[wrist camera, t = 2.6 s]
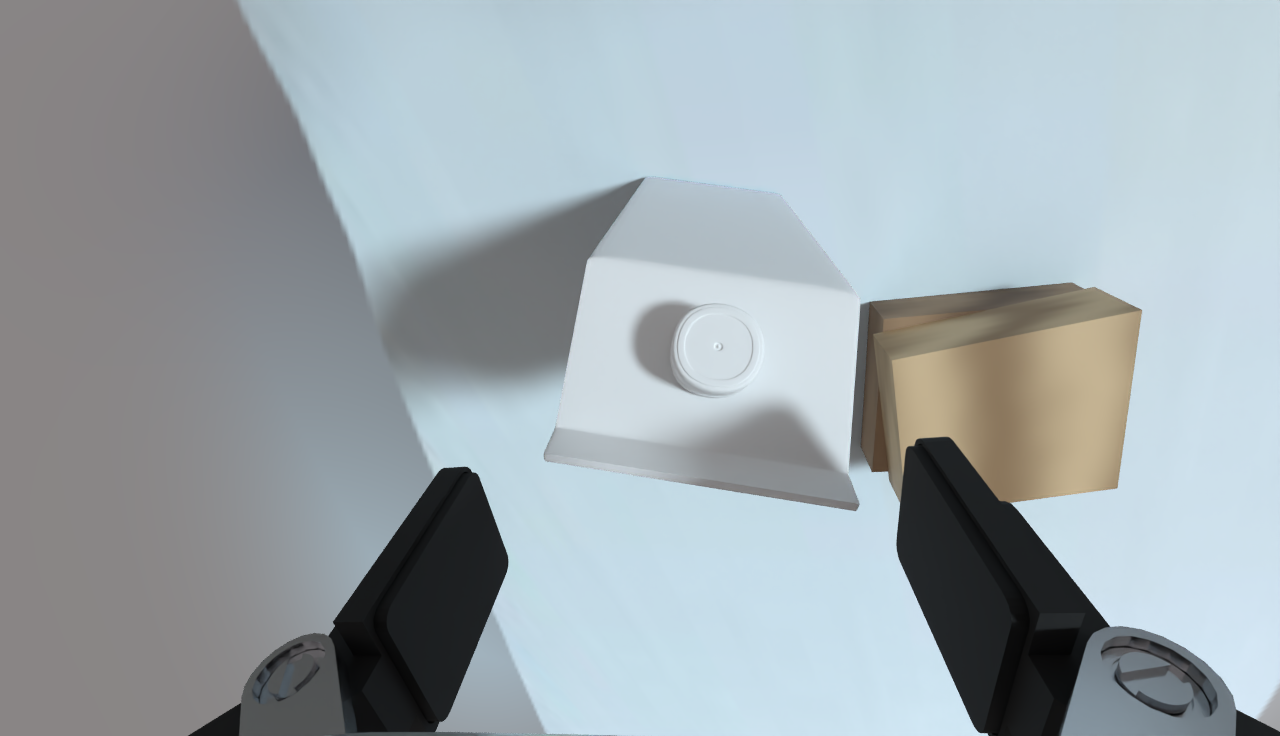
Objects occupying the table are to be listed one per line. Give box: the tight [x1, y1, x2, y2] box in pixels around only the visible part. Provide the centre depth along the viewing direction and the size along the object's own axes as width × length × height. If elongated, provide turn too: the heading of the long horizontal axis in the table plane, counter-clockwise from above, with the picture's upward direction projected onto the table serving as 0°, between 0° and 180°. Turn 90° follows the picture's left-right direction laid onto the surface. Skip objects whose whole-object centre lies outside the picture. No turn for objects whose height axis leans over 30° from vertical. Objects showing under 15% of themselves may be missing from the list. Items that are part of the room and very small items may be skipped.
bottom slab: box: [861, 283, 1083, 472], centre depth 29 cm, size 10×10×3 cm
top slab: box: [873, 287, 1142, 503], centre depth 26 cm, size 10×10×3 cm
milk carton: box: [544, 177, 860, 511], centre depth 20 cm, size 7×7×19 cm
